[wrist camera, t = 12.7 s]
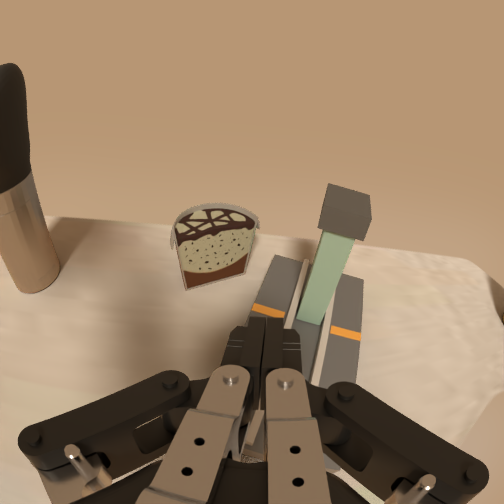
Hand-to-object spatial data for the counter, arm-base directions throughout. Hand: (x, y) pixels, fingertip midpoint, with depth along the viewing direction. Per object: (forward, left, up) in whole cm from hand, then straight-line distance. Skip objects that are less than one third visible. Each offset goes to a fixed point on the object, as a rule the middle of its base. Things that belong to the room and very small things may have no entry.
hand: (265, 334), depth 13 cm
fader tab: (+3, +17, -17) cm, 24 cm away
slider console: (+3, +12, -20) cm, 24 cm away
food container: (-13, +22, -20) cm, 33 cm away
